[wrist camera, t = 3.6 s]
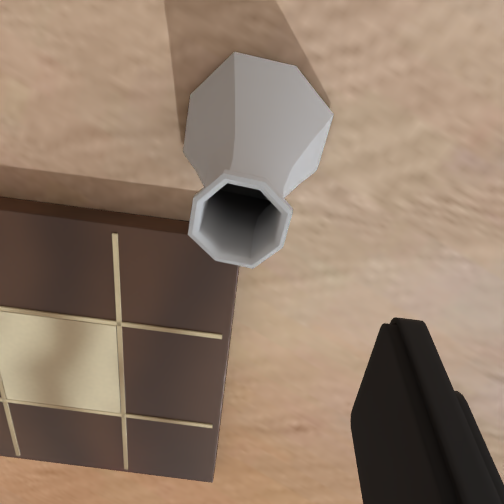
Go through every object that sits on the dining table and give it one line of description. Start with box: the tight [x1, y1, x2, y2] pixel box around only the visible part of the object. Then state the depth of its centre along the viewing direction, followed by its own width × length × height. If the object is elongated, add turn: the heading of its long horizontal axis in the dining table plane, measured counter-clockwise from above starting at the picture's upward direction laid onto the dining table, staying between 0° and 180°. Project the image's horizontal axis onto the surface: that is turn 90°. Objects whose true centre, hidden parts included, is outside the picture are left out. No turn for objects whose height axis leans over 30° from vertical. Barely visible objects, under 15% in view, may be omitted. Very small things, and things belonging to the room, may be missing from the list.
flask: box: [183, 52, 334, 268], centre depth 18 cm, size 7×7×10 cm
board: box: [0, 197, 239, 482], centre depth 30 cm, size 22×22×2 cm
